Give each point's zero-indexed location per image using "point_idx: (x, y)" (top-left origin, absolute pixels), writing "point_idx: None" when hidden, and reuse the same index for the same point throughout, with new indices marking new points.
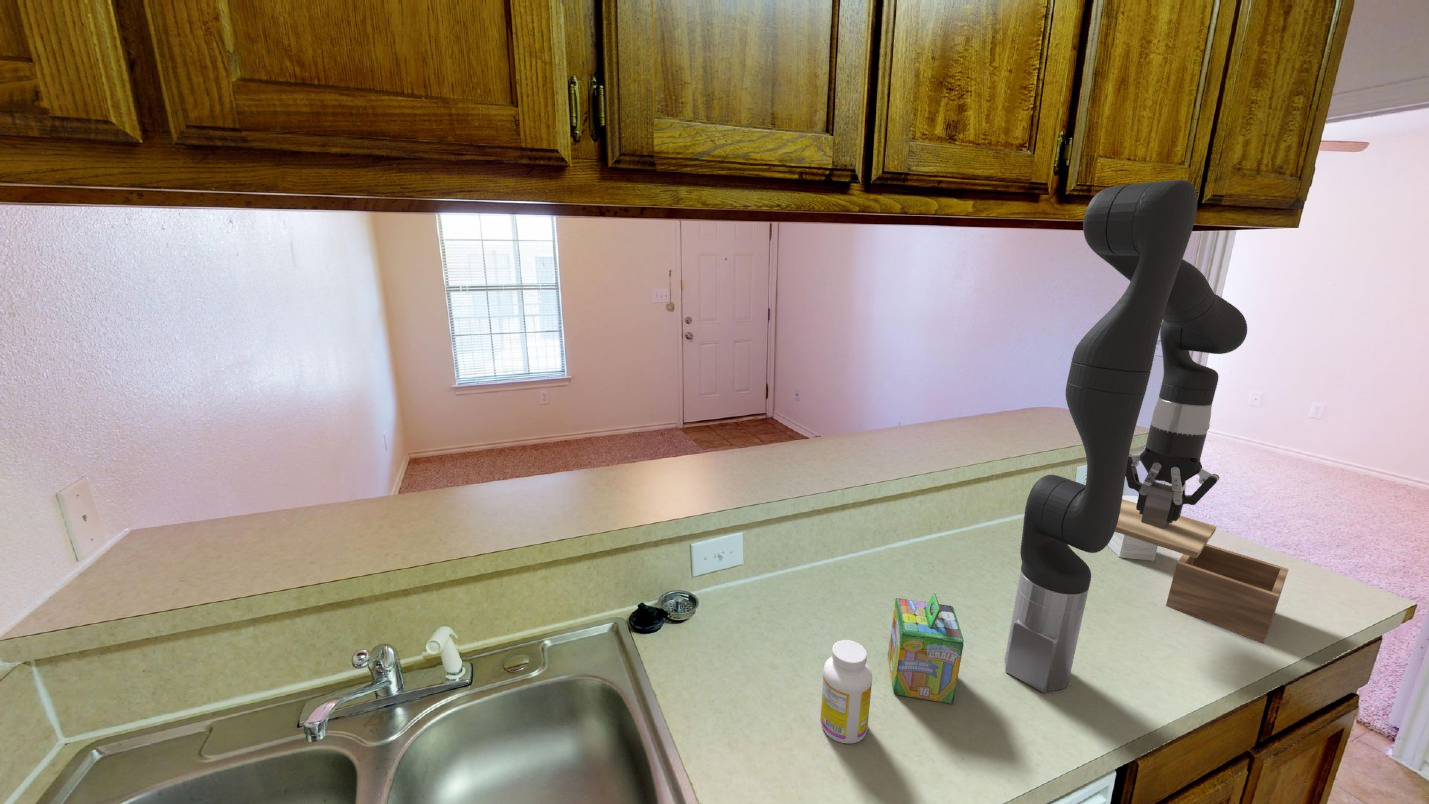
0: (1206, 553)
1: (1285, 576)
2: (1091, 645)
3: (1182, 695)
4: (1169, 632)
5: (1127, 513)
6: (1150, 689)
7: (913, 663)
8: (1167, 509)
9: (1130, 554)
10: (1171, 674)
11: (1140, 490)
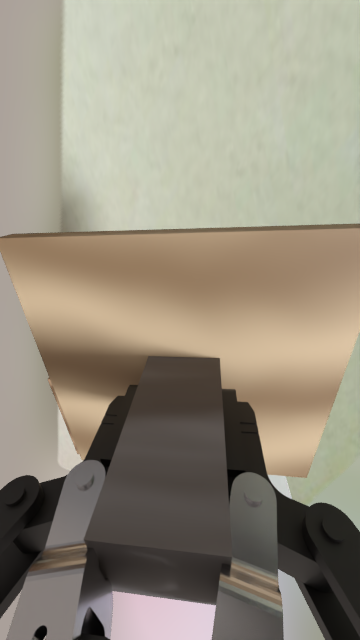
0: None
1: (70, 435)
2: (222, 108)
3: (81, 92)
4: None
5: (271, 396)
6: (113, 52)
7: None
8: (131, 421)
9: None
10: (113, 147)
11: (271, 503)
